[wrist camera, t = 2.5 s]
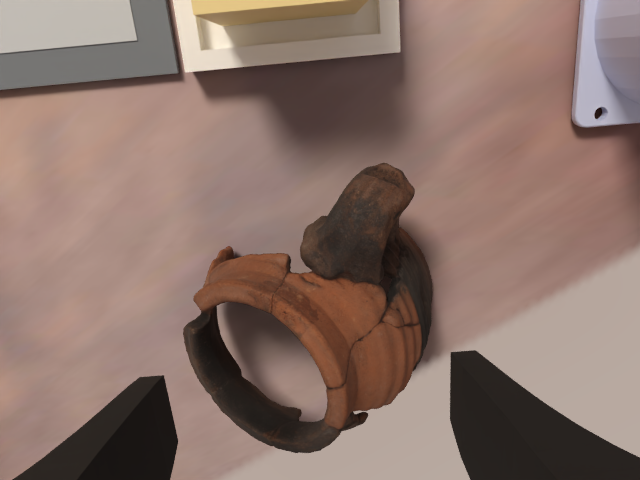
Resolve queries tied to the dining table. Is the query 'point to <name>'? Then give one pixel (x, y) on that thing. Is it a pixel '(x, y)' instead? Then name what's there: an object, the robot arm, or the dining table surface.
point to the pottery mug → (325, 314)
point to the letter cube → (270, 10)
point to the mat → (83, 41)
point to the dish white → (287, 38)
